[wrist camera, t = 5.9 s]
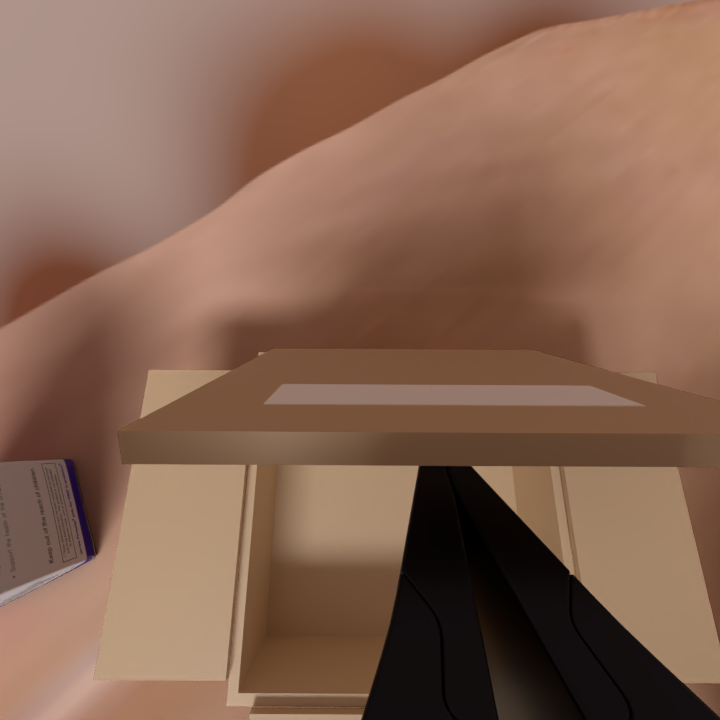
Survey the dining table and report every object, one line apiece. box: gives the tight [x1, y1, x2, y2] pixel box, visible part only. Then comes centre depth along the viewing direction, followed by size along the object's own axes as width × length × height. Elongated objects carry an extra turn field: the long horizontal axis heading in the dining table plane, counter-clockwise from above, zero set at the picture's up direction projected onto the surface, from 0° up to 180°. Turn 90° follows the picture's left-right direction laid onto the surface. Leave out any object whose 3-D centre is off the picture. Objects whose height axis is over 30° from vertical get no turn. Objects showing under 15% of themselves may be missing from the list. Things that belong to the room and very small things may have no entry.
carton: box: [93, 352, 720, 720], centre depth 15 cm, size 19×24×4 cm
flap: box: [118, 348, 720, 467], centre depth 10 cm, size 1×12×10 cm, turn 90°
